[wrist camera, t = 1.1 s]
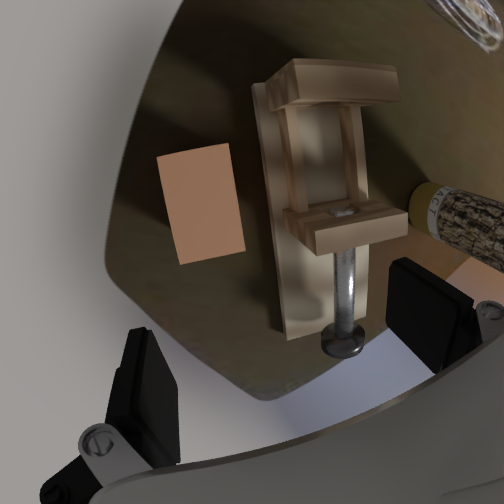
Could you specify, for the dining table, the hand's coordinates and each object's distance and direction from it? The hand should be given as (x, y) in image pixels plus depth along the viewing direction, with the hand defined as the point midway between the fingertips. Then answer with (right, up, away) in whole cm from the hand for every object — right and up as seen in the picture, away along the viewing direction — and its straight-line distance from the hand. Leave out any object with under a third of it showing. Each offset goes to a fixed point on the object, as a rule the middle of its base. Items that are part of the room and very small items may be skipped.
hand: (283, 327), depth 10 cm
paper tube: (+22, +9, +23) cm, 33 cm away
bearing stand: (+6, +7, +20) cm, 22 cm away
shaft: (+8, 0, +20) cm, 21 cm away
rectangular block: (-6, +9, +17) cm, 20 cm away
